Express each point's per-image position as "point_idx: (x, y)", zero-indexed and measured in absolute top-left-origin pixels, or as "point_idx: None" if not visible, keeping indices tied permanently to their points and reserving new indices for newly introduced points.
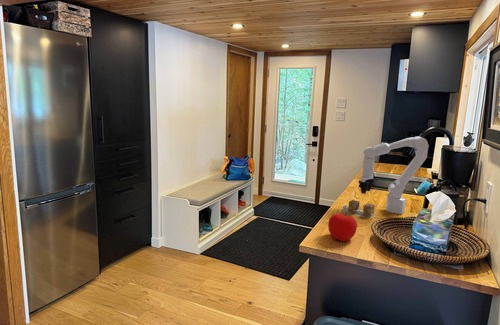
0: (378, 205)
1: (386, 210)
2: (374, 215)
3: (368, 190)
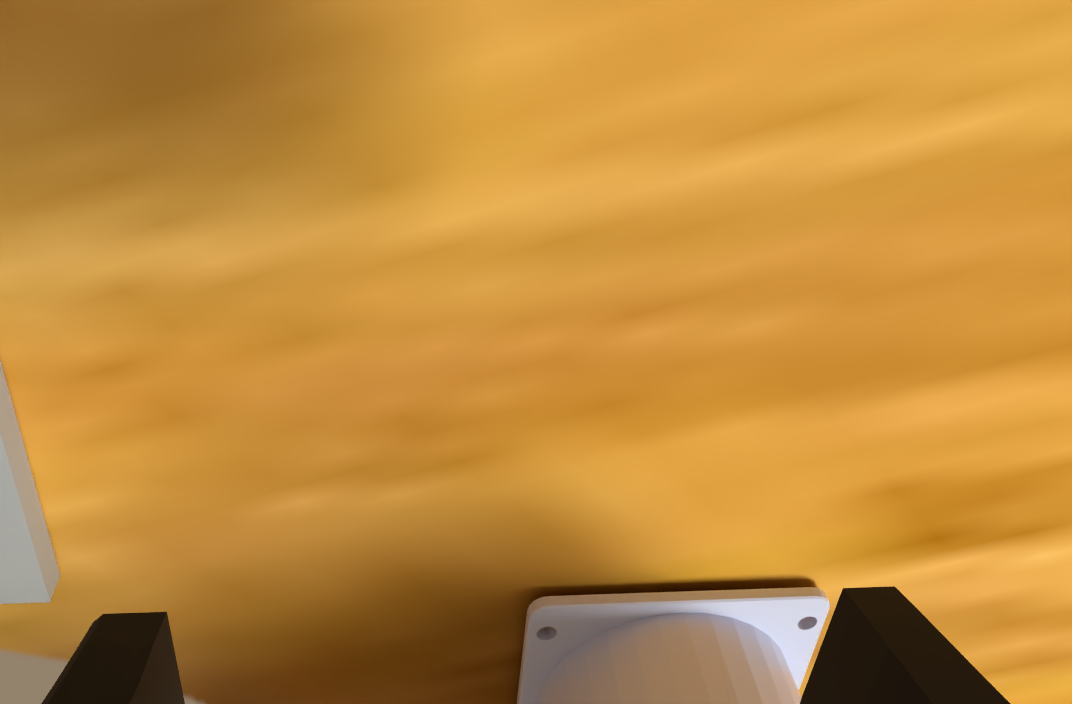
0: (1016, 399)
1: (589, 650)
2: (22, 600)
3: (828, 697)
